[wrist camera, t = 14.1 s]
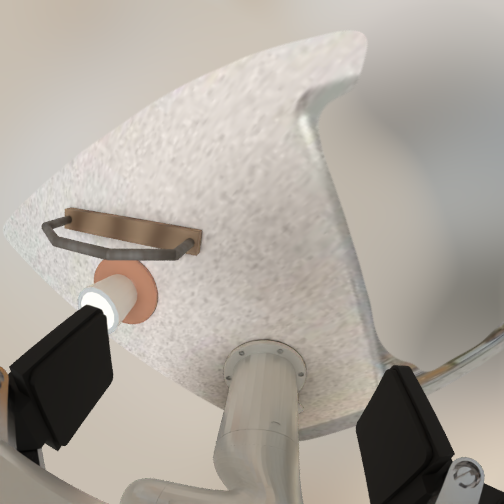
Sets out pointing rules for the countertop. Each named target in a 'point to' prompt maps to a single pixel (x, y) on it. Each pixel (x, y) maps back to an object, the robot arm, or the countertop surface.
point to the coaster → (141, 281)
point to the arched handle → (124, 236)
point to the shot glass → (110, 298)
